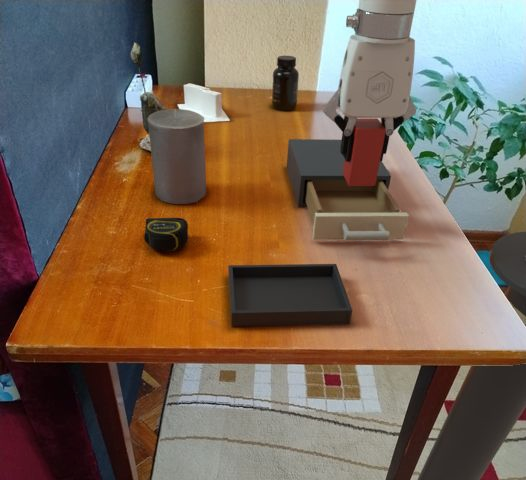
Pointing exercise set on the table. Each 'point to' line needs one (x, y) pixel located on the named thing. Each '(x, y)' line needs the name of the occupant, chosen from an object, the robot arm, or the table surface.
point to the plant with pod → (145, 99)
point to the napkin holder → (203, 103)
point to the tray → (287, 295)
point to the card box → (365, 152)
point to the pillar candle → (178, 155)
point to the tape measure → (166, 233)
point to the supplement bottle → (285, 84)
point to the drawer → (353, 211)
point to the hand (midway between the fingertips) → (362, 157)
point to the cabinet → (318, 164)
